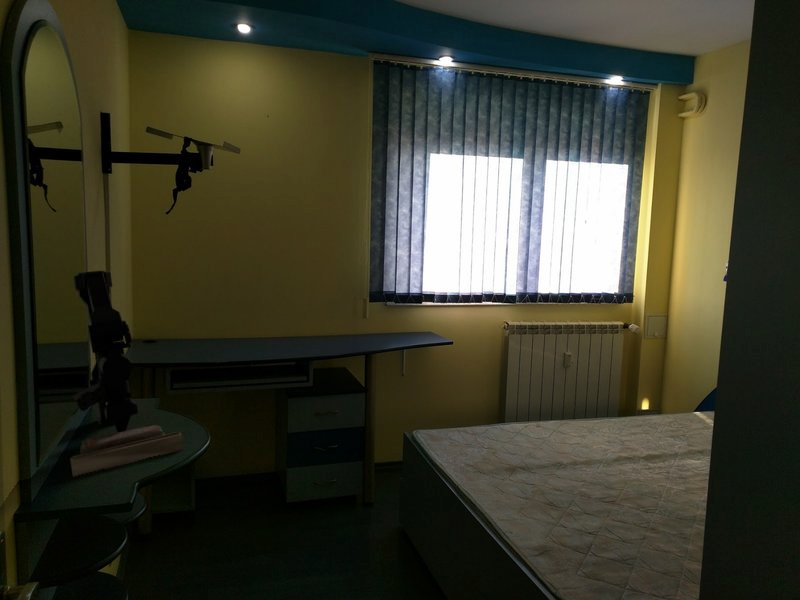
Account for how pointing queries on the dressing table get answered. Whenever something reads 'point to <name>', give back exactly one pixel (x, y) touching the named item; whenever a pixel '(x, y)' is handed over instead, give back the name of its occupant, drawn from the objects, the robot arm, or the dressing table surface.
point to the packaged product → (120, 438)
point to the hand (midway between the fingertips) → (121, 436)
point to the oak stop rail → (126, 453)
